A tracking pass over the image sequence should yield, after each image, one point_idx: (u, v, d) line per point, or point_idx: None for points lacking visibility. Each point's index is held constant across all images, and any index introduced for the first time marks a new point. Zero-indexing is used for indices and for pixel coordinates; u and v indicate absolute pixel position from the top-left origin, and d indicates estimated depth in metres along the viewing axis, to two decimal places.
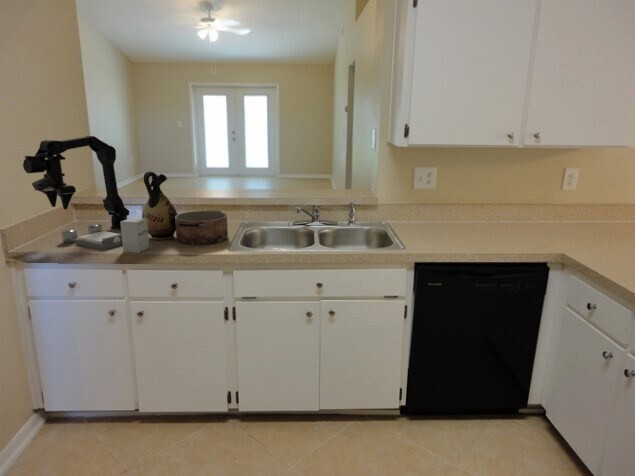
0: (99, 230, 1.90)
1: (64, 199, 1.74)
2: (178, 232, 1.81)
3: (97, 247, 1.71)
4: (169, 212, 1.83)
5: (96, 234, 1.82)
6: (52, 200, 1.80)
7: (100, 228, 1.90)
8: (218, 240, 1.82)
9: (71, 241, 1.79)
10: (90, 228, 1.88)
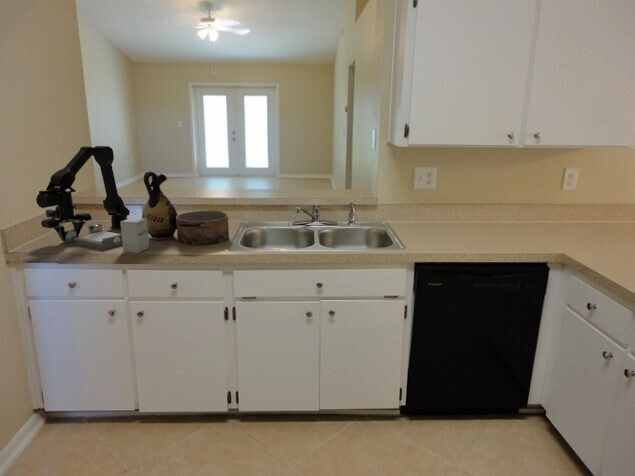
0: (99, 230, 1.90)
1: (58, 231, 1.76)
2: (179, 232, 1.81)
3: (97, 247, 1.71)
4: (169, 212, 1.83)
5: (96, 234, 1.82)
6: None
7: (100, 228, 1.90)
8: (219, 240, 1.82)
9: (71, 241, 1.79)
10: (90, 228, 1.88)
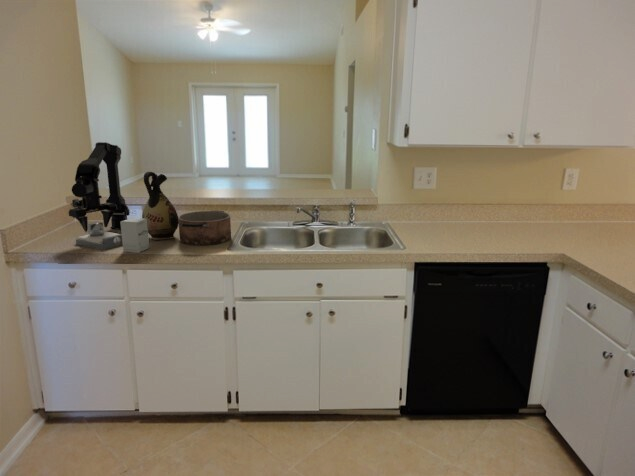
0: None
1: (81, 222, 1.75)
2: (181, 232, 1.80)
3: (97, 247, 1.71)
4: (169, 212, 1.83)
5: None
6: (105, 221, 1.84)
7: None
8: (221, 240, 1.82)
9: (98, 234, 1.79)
10: None
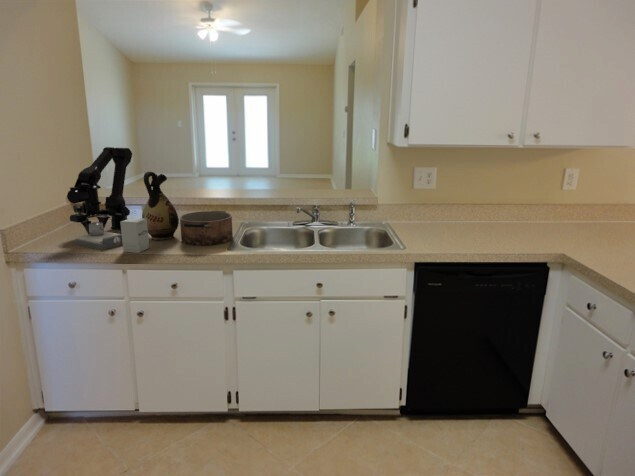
0: None
1: (85, 225, 1.87)
2: (183, 232, 1.80)
3: (97, 247, 1.71)
4: (169, 212, 1.83)
5: None
6: None
7: None
8: (223, 240, 1.82)
9: (98, 234, 1.79)
10: None
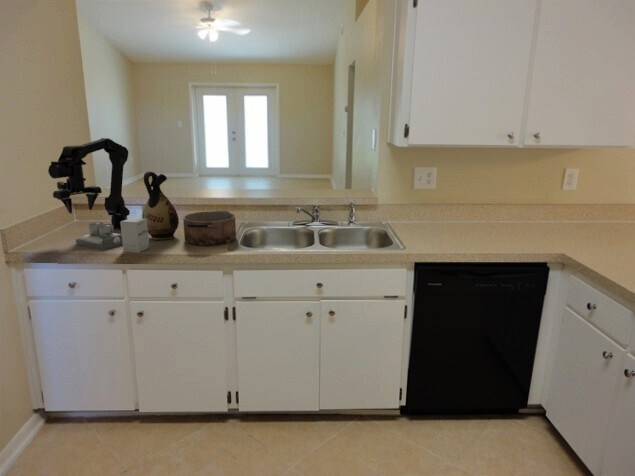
0: (110, 231, 1.77)
1: (65, 203, 1.78)
2: (186, 233, 1.80)
3: (97, 247, 1.71)
4: (169, 212, 1.83)
5: None
6: (89, 203, 1.88)
7: (111, 229, 1.77)
8: (226, 241, 1.81)
9: None
10: (101, 229, 1.75)
